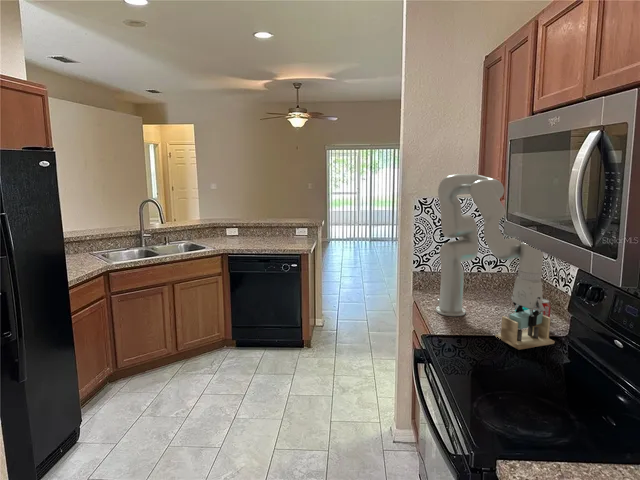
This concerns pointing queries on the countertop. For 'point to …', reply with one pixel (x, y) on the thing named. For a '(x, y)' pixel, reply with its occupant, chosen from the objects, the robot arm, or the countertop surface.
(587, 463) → the countertop surface
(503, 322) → the peg stand
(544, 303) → the soda can
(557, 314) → the countertop surface
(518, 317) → the pale teal rectangular block
